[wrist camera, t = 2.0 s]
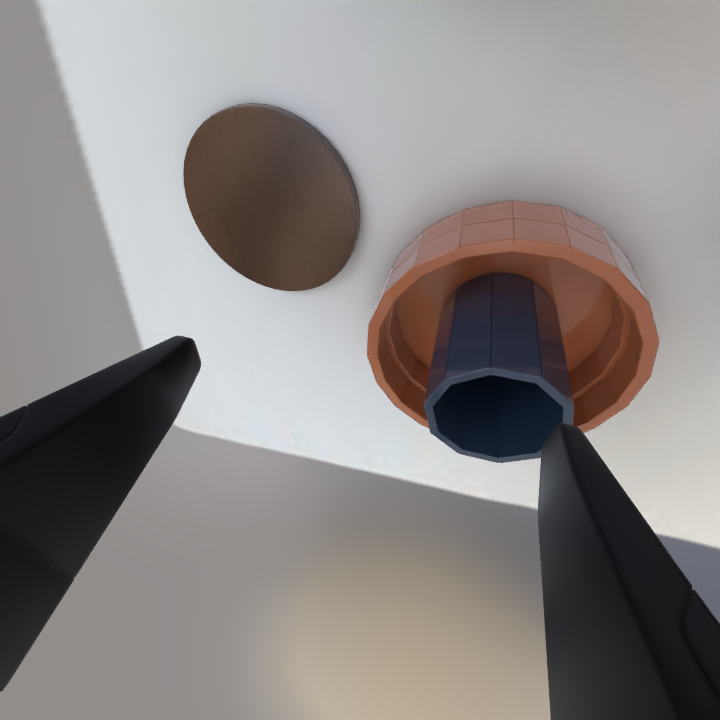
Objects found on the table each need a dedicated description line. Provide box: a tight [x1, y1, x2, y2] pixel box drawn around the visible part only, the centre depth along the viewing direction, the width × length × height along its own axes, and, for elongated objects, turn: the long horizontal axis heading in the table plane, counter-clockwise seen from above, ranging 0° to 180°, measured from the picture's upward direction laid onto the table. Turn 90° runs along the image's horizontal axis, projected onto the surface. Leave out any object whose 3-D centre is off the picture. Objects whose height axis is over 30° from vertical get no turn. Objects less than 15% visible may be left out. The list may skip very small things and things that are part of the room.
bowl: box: [367, 201, 659, 432], centre depth 21 cm, size 13×13×4 cm
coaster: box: [184, 103, 360, 291], centre depth 22 cm, size 10×10×1 cm
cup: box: [424, 272, 574, 463], centre depth 20 cm, size 6×6×8 cm
